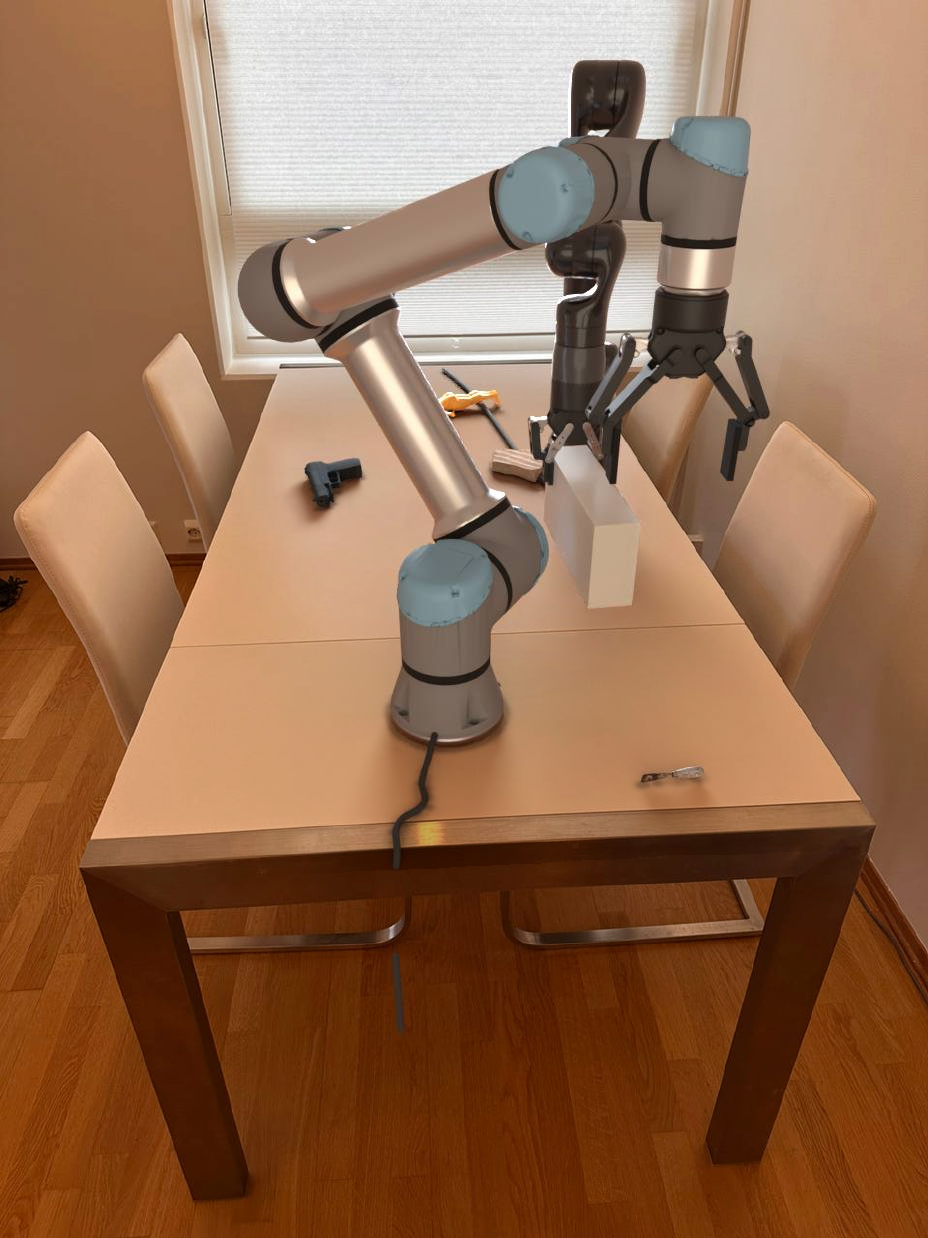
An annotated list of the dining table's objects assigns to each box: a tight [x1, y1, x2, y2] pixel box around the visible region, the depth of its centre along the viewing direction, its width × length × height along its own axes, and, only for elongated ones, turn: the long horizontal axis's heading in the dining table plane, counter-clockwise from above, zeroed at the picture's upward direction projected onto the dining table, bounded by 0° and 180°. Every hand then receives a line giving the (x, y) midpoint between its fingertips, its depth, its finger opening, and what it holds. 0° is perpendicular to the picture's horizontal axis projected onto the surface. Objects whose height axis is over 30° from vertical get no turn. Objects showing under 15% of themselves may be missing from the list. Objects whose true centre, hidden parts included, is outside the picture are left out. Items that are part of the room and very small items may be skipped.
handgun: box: [303, 457, 363, 509], centre depth 184 cm, size 3×18×12 cm
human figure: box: [438, 389, 500, 418], centre depth 225 cm, size 20×20×4 cm
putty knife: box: [640, 765, 705, 784], centre depth 109 cm, size 1×8×2 cm, turn 103°
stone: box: [489, 448, 543, 483], centre depth 192 cm, size 13×12×2 cm
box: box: [543, 445, 642, 610], centre depth 129 cm, size 27×6×12 cm, turn 8°
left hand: (668, 478), depth 104 cm, fingers open, 13 cm apart
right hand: (571, 481), depth 136 cm, fingers closed on box, 6 cm apart
